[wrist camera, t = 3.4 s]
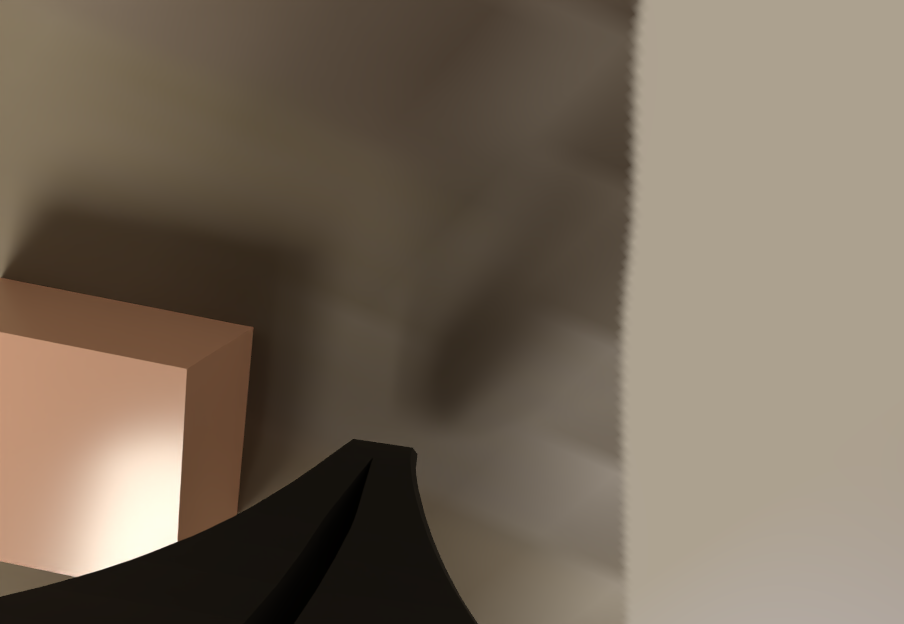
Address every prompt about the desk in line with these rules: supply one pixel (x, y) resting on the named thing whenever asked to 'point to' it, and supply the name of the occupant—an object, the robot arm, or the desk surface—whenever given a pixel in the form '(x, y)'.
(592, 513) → the desk surface
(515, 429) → the desk surface
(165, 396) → the salmon pink block
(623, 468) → the desk surface
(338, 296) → the desk surface
